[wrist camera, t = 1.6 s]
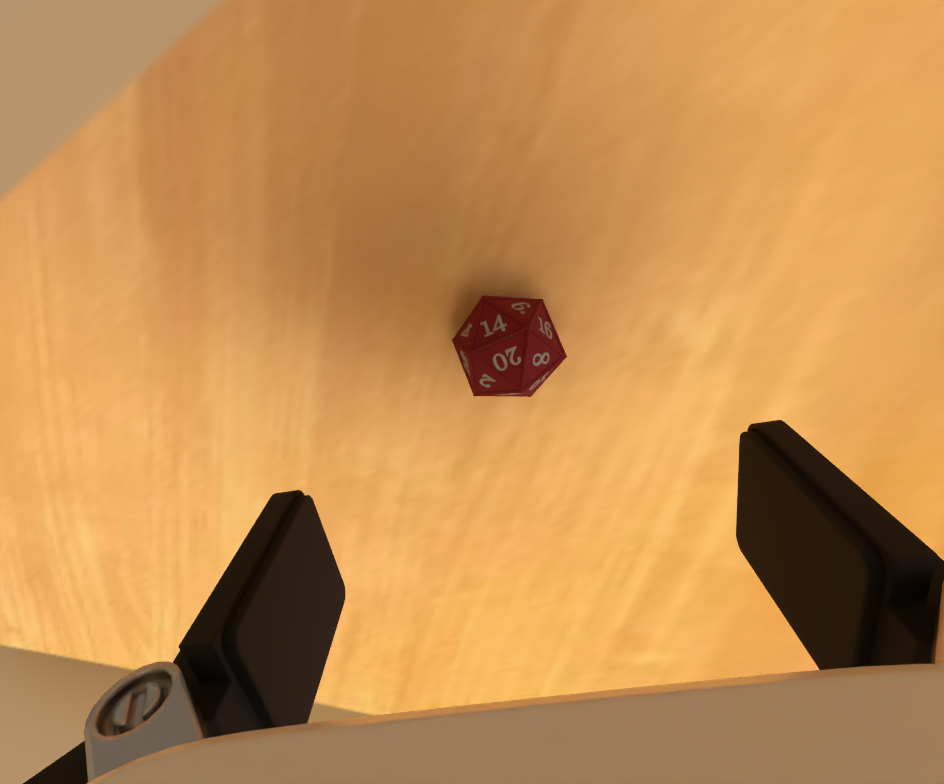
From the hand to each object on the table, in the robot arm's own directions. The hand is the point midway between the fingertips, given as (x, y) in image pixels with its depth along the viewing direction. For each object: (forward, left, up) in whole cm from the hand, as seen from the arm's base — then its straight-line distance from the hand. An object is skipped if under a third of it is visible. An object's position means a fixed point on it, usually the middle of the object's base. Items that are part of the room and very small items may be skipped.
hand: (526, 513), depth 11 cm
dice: (0, 0, -11) cm, 11 cm away
